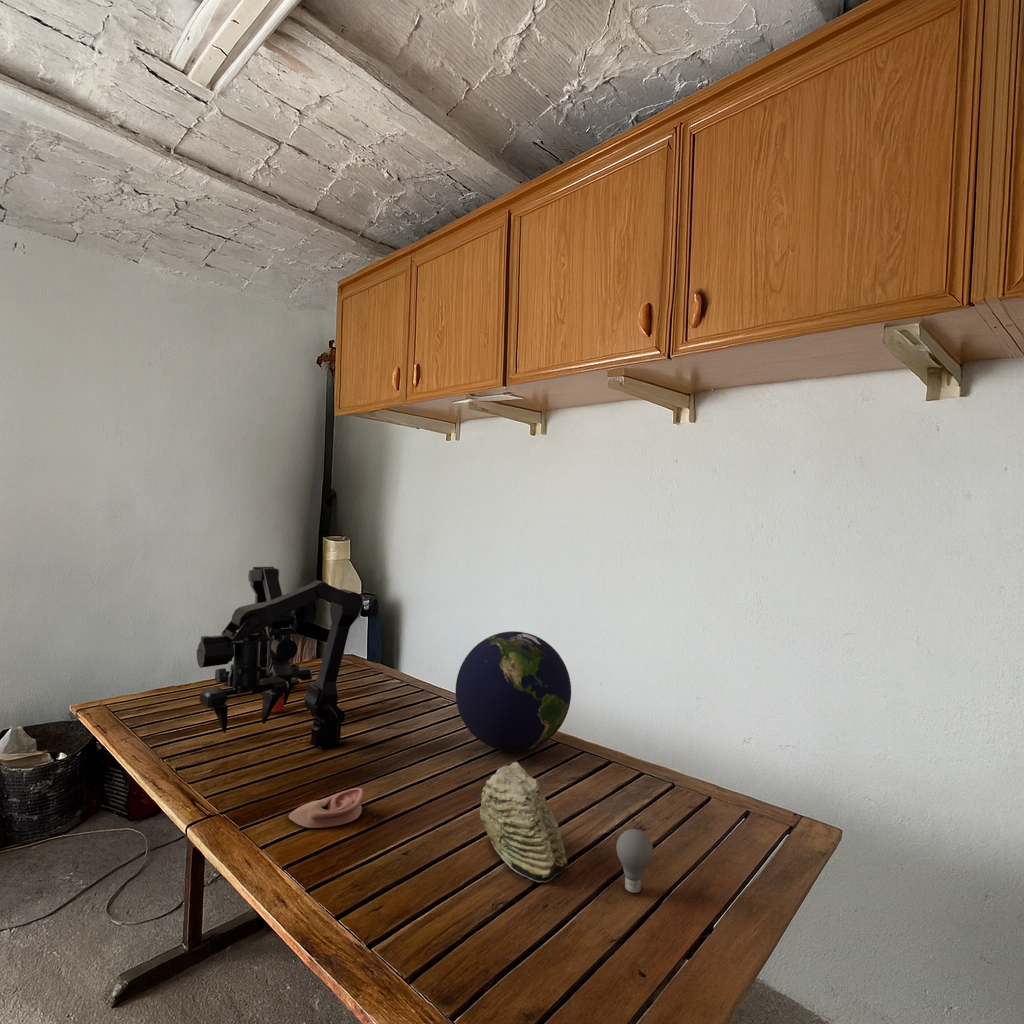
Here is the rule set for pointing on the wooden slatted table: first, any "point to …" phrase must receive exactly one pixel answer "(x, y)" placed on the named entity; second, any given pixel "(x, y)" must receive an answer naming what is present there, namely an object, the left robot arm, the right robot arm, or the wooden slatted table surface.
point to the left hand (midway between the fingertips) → (276, 705)
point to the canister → (279, 704)
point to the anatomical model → (330, 810)
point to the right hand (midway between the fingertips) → (244, 727)
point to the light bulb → (634, 857)
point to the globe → (513, 691)
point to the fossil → (522, 824)
